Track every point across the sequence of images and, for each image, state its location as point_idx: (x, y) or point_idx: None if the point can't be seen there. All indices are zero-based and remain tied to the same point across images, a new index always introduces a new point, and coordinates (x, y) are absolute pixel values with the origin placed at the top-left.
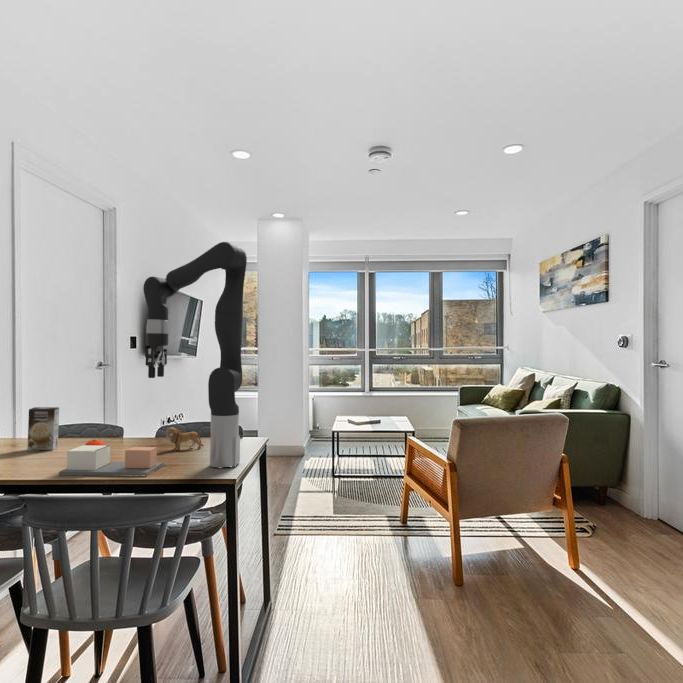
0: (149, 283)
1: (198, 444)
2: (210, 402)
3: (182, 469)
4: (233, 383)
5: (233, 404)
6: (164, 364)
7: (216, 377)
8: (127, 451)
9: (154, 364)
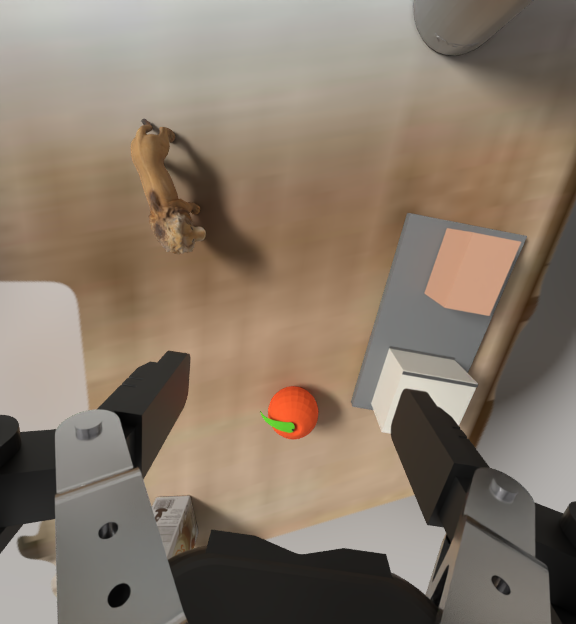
0: None
1: (167, 135)
2: None
3: (470, 148)
4: None
5: None
6: (92, 431)
7: None
8: (489, 308)
9: (532, 507)
